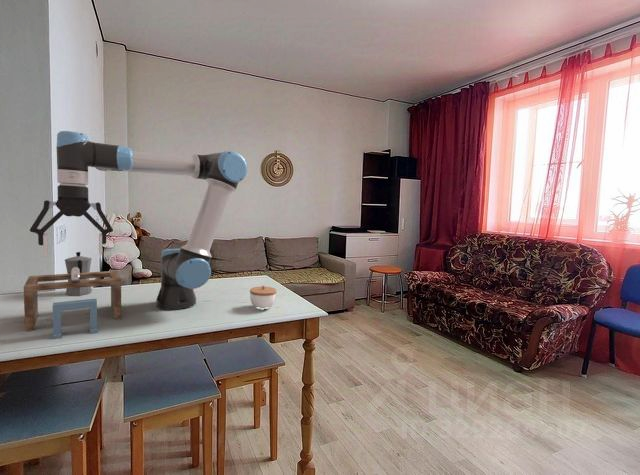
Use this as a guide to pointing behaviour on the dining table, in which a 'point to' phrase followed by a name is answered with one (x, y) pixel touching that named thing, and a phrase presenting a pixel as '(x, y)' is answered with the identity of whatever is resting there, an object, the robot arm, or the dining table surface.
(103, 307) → the dining table surface
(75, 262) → the coffeepot
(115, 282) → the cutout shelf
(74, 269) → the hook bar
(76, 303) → the blue square arch
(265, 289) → the lidded jar
